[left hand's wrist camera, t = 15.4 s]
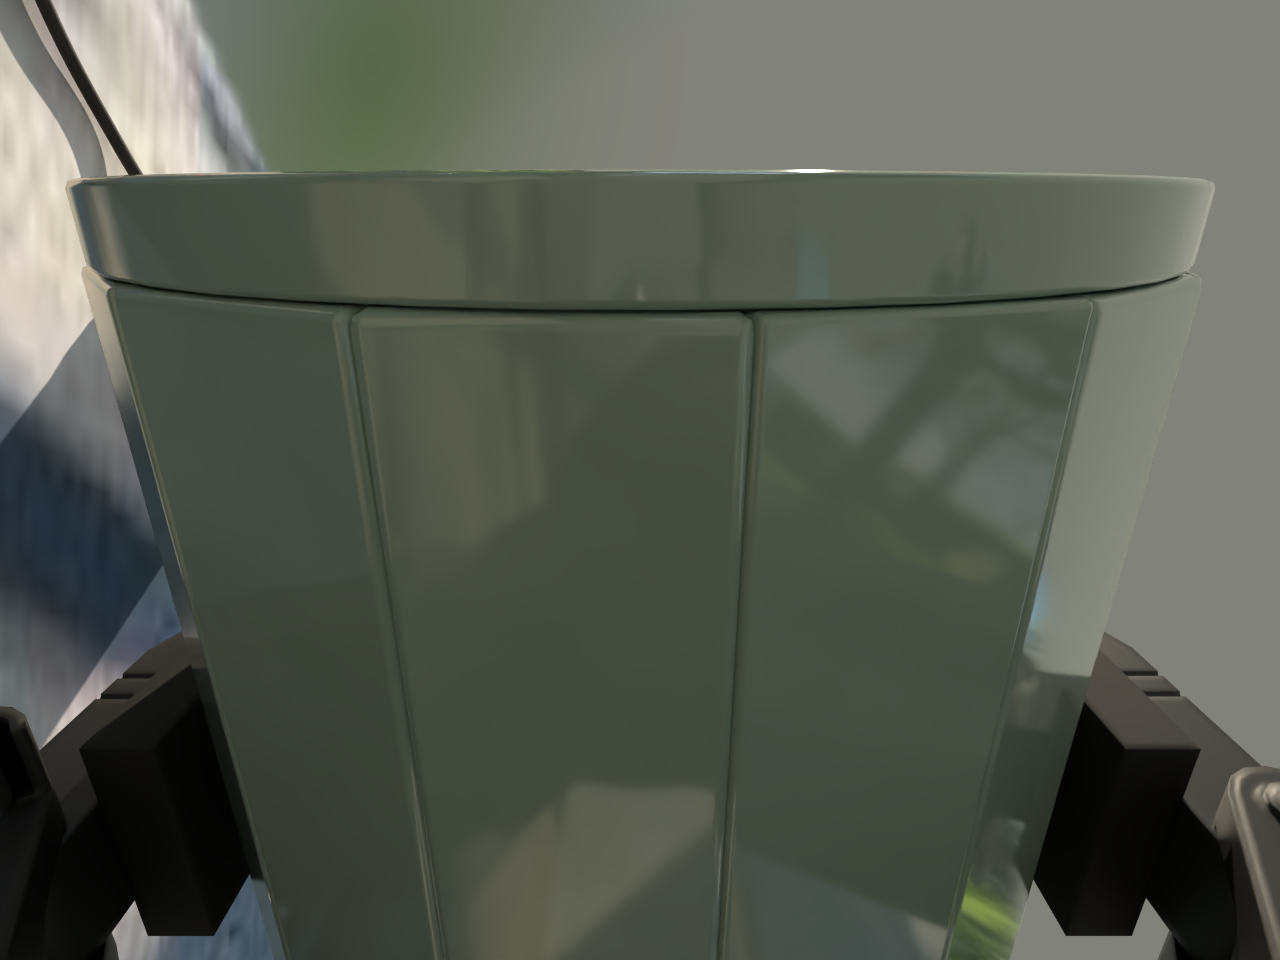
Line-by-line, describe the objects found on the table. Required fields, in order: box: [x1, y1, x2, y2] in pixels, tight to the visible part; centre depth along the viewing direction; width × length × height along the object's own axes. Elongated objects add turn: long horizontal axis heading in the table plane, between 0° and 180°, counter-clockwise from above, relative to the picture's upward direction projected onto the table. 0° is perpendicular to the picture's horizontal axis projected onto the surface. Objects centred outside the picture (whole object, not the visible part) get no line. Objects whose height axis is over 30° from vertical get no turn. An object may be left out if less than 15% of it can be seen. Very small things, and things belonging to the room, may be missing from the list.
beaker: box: [65, 170, 1215, 960], centre depth 10 cm, size 10×10×12 cm
